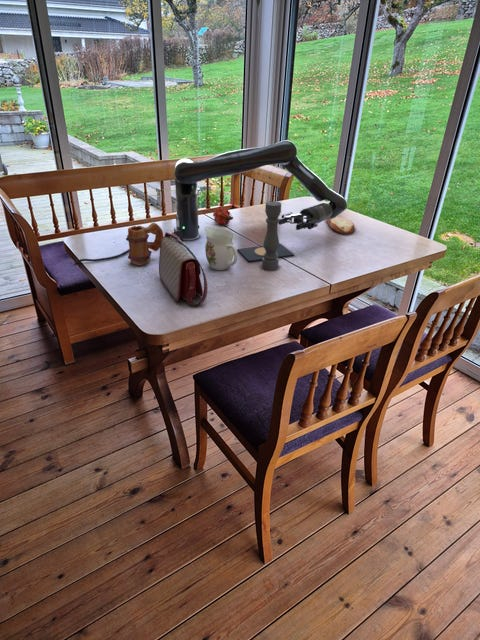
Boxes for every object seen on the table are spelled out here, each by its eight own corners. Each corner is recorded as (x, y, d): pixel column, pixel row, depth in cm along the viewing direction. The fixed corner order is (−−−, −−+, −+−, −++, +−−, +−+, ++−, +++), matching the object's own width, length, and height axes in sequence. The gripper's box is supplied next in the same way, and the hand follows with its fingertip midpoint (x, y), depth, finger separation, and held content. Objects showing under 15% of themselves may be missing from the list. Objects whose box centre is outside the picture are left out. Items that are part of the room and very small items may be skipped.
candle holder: (276, 271, 173) (280, 206, 160) (260, 269, 174) (263, 205, 161) (279, 264, 178) (283, 201, 165) (263, 263, 179) (266, 200, 166)
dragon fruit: (217, 222, 226) (228, 232, 218) (205, 214, 220) (216, 225, 212) (227, 207, 224) (239, 218, 216) (215, 199, 218) (227, 210, 210)
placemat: (249, 262, 180) (249, 260, 179) (237, 250, 190) (237, 248, 190) (293, 255, 186) (294, 254, 186) (280, 244, 197) (280, 243, 196)
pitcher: (225, 279, 166) (225, 243, 159) (196, 263, 178) (194, 230, 171) (247, 271, 173) (248, 236, 165) (217, 256, 184) (217, 224, 177)
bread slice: (329, 218, 229) (330, 211, 227) (363, 225, 220) (364, 218, 218) (313, 227, 216) (313, 220, 214) (347, 236, 207) (349, 228, 205)
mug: (131, 268, 173) (127, 231, 165) (125, 261, 179) (121, 224, 171) (167, 262, 179) (165, 225, 171) (161, 255, 185) (158, 219, 177)
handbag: (212, 305, 149) (211, 256, 140) (181, 311, 145) (178, 261, 136) (184, 272, 171) (182, 228, 162) (157, 277, 167) (153, 231, 158)
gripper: (299, 202, 187) (274, 211, 177) (328, 210, 179) (303, 219, 169) (297, 220, 191) (273, 229, 181) (326, 228, 183) (302, 238, 172)
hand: (288, 224), depth 175 cm, fingers open, 8 cm apart
